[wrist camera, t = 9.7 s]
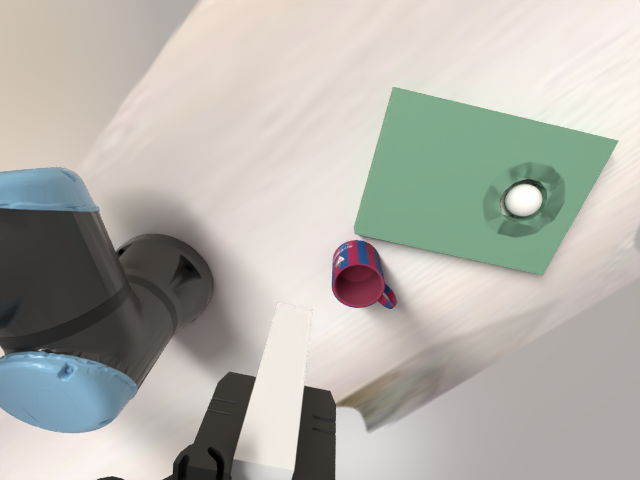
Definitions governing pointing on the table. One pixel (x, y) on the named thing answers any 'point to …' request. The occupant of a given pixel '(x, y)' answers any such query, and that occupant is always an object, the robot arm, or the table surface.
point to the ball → (523, 200)
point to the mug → (359, 276)
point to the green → (475, 181)
